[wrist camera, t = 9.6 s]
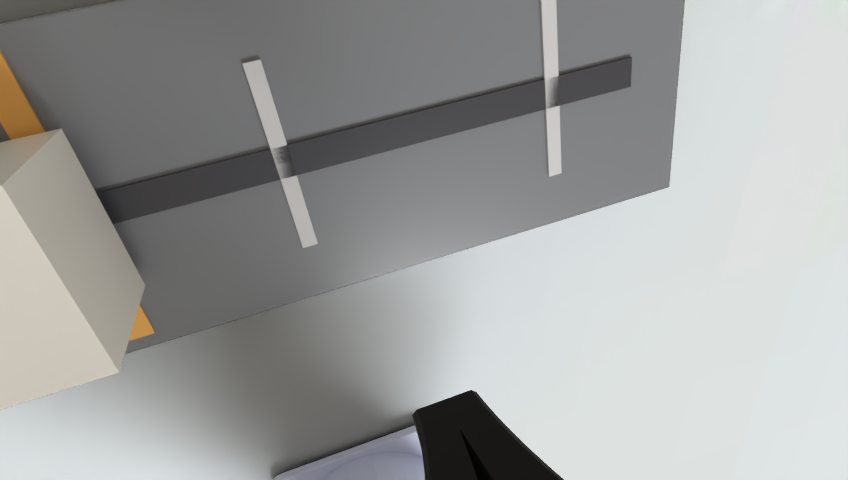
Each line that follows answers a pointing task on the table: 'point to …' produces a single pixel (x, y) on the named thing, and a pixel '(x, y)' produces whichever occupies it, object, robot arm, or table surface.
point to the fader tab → (58, 274)
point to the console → (339, 132)
